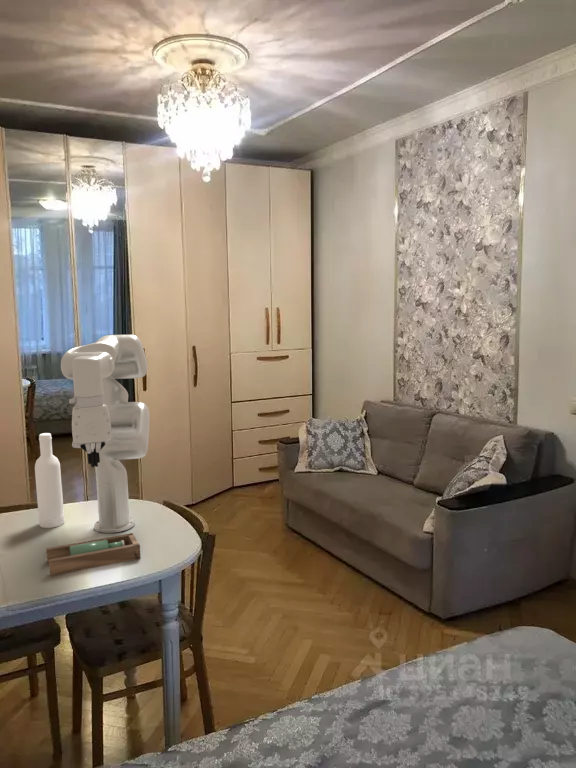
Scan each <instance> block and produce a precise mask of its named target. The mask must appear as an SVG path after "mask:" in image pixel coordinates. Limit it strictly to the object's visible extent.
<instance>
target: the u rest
mask: <svg viewBox="0 0 576 768" xmlns="http://www.w3.org/2000/svg"><path fill="white" fill-rule="evenodd" d="M101 540H107V542H108V544H109V543H114V542H120V541H121V540H124V544H125V546H120V547H115V548H110V549H104V550H99V551H93V552H88V553H83V554H77V555H72V556H70V550H69V547H70V546H73V545H79V544H84V543H90V542H96V541H101ZM45 551H46V563H47V565H48V568H49V575H50V577H54V576H57V575H64V574H69V573H73V572H78V571H84V570H88V569H94V568H99V567H104V566H110V565H114V564H120V563H125V562H129V561H134V560H140V559H141V545H140V543H139V541H138V540H137V538H136V536H135V535H134V533H131V532H130V533H125V534H119V535H113V536H108V537H103V538H97V539H91V540H87V541H80V542H76V543H75V542H74V543H69V544H64V545H57V546H53V547H46V548H45Z"/></svg>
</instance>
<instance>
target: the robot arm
mask: <svg viewBox="0 0 576 768" xmlns="http://www.w3.org/2000/svg"><path fill="white" fill-rule="evenodd" d="M144 349H145V348H144V347H143V343H142V341H141V339H140V338H139V337H138V336H137V335H135V334H109V335H103V336H102V337H99V339H98V340H96V341H95V342H93V343H88V344H85V345H81V346H77V347H76V346H75V347H74V348H70V349H69V350H67V351H66V352H65V353H64V354H63V356H62V357H61V361H60V370H61V372H62V373H61V374H62V375H63V377H65V378H66V379H68V380H73V393H74V394H73V398H69V399H68V400H69V401H68V402H69V405H74V406H72V412H71V413H72V414H71V434H72V444H71V446H72V448H74V449H82V450H83V451H84V452H85V453H87V463H88V465H90V466H91V468H94V469H95V480H96V495H97V497H96V498H97V510H98V520H97V521H96V522H94V525H93V526H94V530H95V531H97V532H98V533H105V534H113V533H120V532H124V531H127V530H129V529H132V528H133V527H134V526H135V524H136V522H135V519H134V518H133V517H131V516H130V507H129V506H130V503H129V488H128V487H129V485H128V484H129V483H128V473H127V470H126V467H125V466H124V464H123V463H122V462H121V461H120V460H136V459H138V460H139V459H142V458H145V457H146V455H147V453H148V450H149V439H150V438H149V437H150V422H151V421H150V420H151V419H150V417H151V415H150V410H149V407H148V405H147V404H146V403H144V402H140V401H129V393H128V390H127V389H126V388H125V387H124V386H123V385H122V384H121V383H120V382H119V381H117V380H116V379H119V380H120V379H124V380H125V379H141V378H143V377H145V376H146V375H147V373H148V365H149V364H148V360H147V357H146V353H145V350H144Z"/></svg>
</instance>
